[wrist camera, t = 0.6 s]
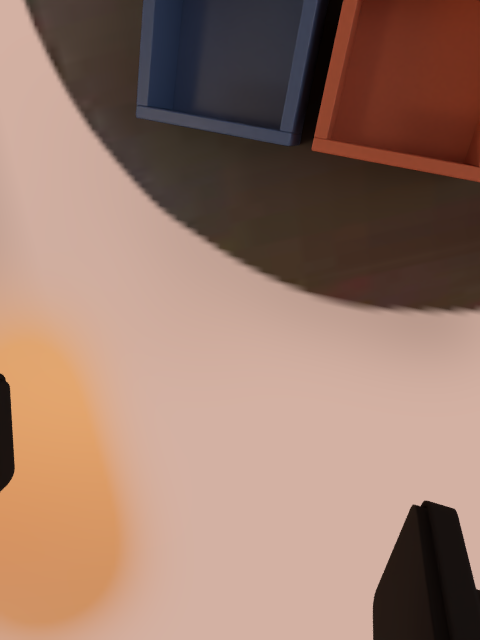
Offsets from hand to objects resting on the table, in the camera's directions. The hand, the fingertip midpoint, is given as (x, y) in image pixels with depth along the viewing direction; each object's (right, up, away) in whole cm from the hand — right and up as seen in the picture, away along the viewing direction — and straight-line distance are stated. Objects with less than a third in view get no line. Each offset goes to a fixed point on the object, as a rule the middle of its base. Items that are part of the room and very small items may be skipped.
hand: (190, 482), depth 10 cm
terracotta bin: (+13, +20, +20) cm, 31 cm away
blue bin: (+1, +22, +22) cm, 31 cm away
